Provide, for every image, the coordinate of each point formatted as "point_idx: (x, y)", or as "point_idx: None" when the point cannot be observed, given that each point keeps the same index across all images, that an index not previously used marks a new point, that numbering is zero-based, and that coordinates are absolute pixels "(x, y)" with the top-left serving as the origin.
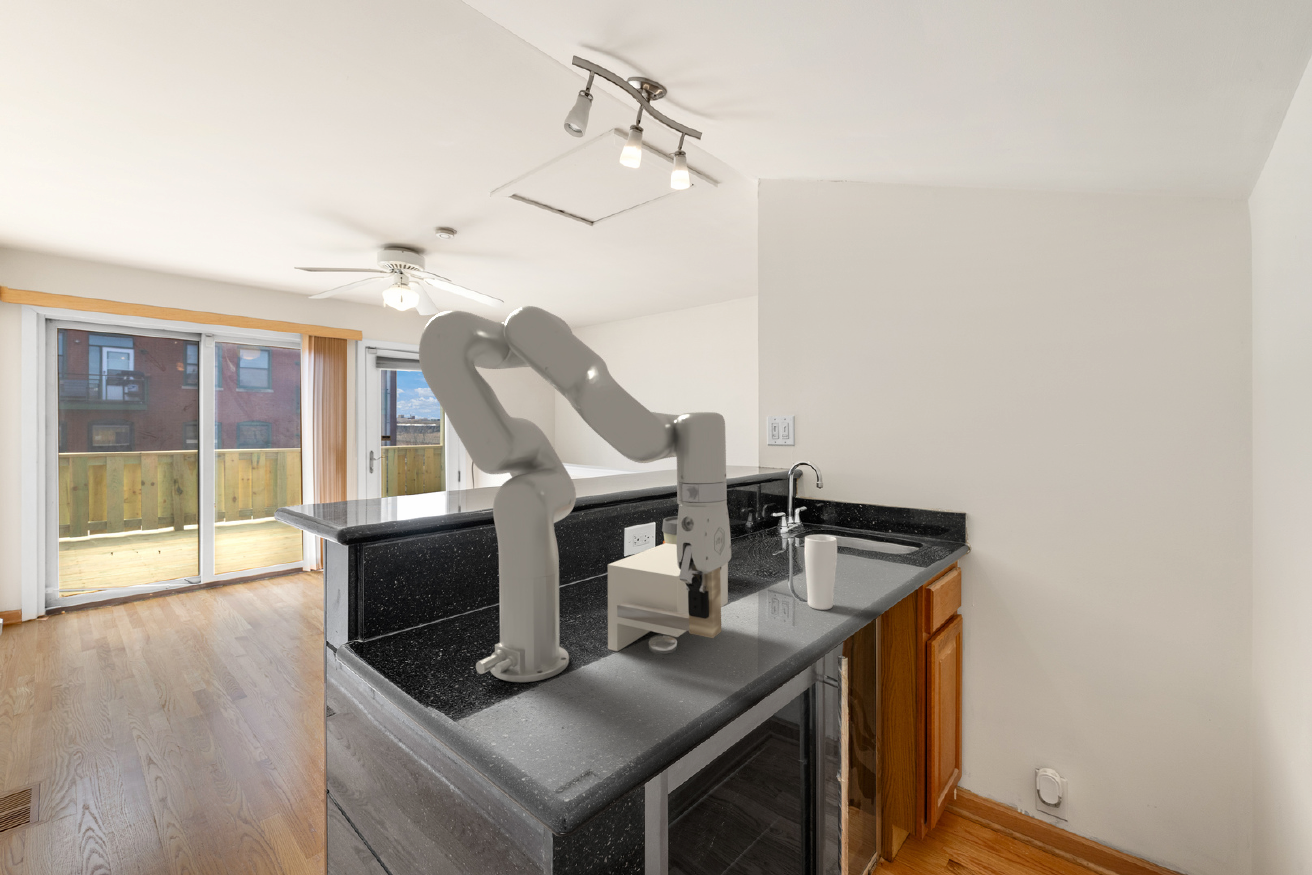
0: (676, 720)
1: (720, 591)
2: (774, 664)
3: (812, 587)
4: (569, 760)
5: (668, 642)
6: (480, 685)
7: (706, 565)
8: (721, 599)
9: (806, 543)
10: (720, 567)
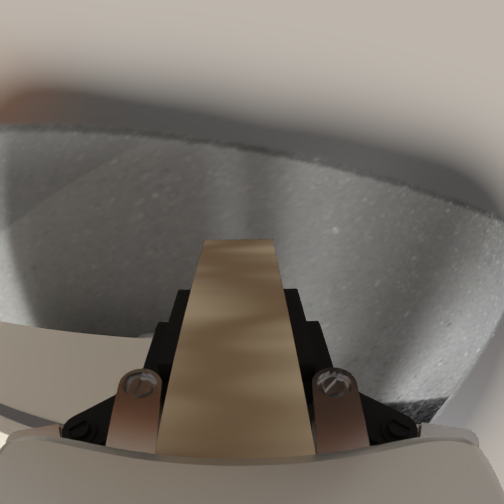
0: (397, 207)
1: (184, 330)
2: (78, 137)
3: None
4: (496, 276)
5: None
6: None
7: (481, 472)
8: (1, 332)
9: None
10: (72, 428)
